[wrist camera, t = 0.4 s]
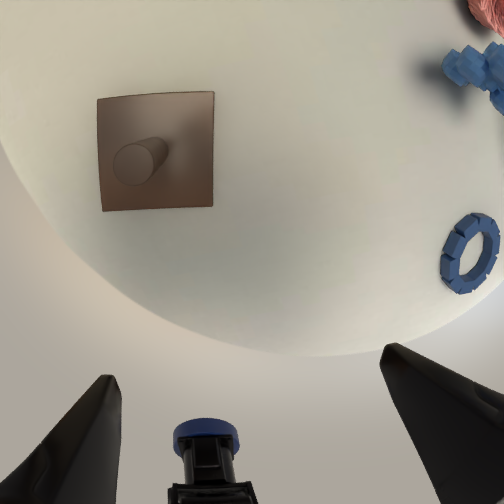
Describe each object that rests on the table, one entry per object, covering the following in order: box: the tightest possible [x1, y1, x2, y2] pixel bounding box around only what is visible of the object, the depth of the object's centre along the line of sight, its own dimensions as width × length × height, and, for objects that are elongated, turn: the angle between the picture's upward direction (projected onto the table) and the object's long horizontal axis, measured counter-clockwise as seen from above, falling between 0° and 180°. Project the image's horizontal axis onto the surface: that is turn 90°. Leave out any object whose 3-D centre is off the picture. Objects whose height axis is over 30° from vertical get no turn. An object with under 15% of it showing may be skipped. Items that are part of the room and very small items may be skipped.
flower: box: [467, 0, 504, 39], centre depth 15 cm, size 8×8×6 cm
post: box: [97, 91, 214, 212], centre depth 17 cm, size 8×8×8 cm
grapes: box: [441, 42, 504, 116], centre depth 16 cm, size 12×7×12 cm, turn 105°
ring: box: [440, 213, 500, 295], centre depth 29 cm, size 9×10×2 cm
